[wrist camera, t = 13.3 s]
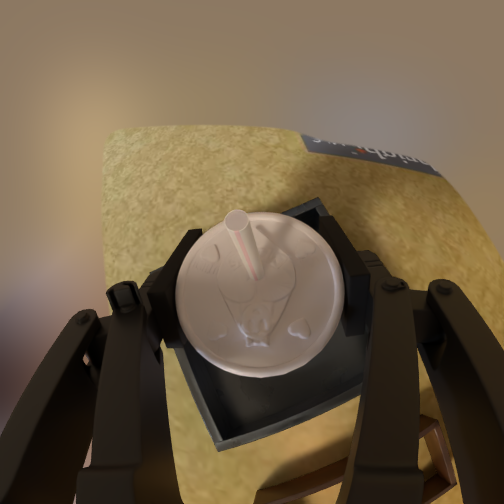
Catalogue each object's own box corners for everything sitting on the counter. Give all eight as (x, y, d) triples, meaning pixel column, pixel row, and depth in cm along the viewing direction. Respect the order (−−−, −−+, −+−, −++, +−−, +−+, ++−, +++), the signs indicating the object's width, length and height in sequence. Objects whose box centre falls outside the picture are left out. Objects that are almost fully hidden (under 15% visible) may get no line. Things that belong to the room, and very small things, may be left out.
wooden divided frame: (442, 474, 17) (457, 484, 14) (290, 545, 16) (289, 563, 13) (421, 413, 20) (438, 419, 17) (256, 490, 19) (252, 506, 16)
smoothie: (316, 273, 20) (355, 129, 7) (321, 365, 18) (396, 385, 5) (226, 277, 21) (132, 151, 8) (225, 367, 18) (100, 381, 5)
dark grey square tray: (389, 364, 22) (408, 365, 18) (229, 436, 22) (218, 452, 17) (314, 220, 28) (318, 196, 24) (169, 285, 27) (149, 272, 23)
